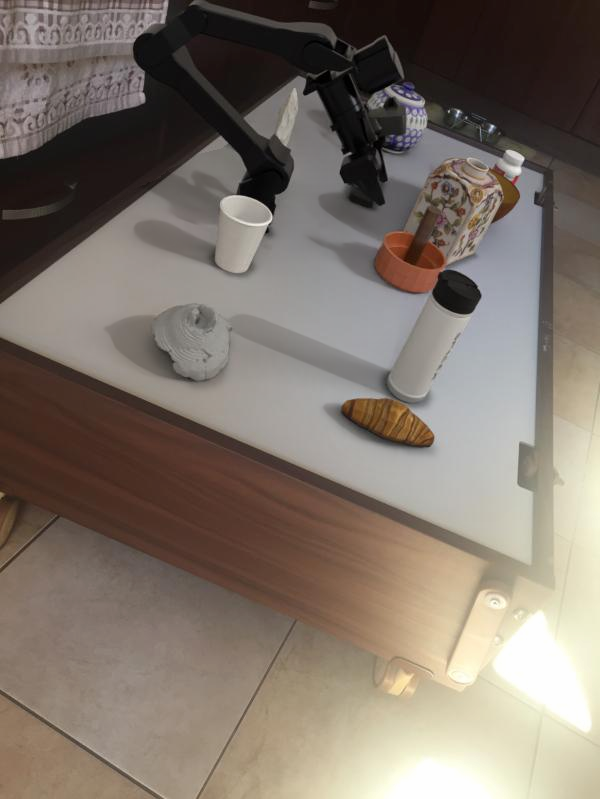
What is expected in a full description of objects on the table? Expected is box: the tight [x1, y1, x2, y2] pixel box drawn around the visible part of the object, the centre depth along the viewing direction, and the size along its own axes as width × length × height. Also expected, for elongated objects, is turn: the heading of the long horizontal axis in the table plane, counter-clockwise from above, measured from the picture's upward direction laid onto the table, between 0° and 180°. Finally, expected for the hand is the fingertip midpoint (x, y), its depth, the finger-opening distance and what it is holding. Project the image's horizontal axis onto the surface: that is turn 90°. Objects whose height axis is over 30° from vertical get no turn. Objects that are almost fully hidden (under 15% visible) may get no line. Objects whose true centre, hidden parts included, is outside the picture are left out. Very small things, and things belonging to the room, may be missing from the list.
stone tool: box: [273, 87, 299, 147], centre depth 149 cm, size 8×3×15 cm, turn 156°
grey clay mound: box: [150, 303, 234, 382], centre depth 97 cm, size 12×12×11 cm
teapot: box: [366, 81, 428, 154], centre depth 173 cm, size 25×15×15 cm, turn 166°
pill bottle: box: [492, 149, 525, 186], centre depth 170 cm, size 6×6×11 cm
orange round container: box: [373, 230, 447, 294], centre depth 132 cm, size 12×12×6 cm
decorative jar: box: [402, 157, 504, 266], centre depth 141 cm, size 12×12×18 cm
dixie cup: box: [214, 194, 273, 274], centre depth 116 cm, size 8×8×10 cm
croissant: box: [341, 397, 436, 448], centre depth 99 cm, size 14×7×5 cm, turn 77°
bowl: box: [442, 157, 521, 225], centre depth 155 cm, size 18×18×10 cm
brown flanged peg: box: [403, 206, 441, 266], centre depth 129 cm, size 4×4×13 cm
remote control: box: [349, 187, 374, 208], centre depth 155 cm, size 5×2×15 cm
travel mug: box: [385, 268, 483, 404], centre depth 103 cm, size 6×7×20 cm
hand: (383, 193), depth 124 cm, fingers open, 9 cm apart
